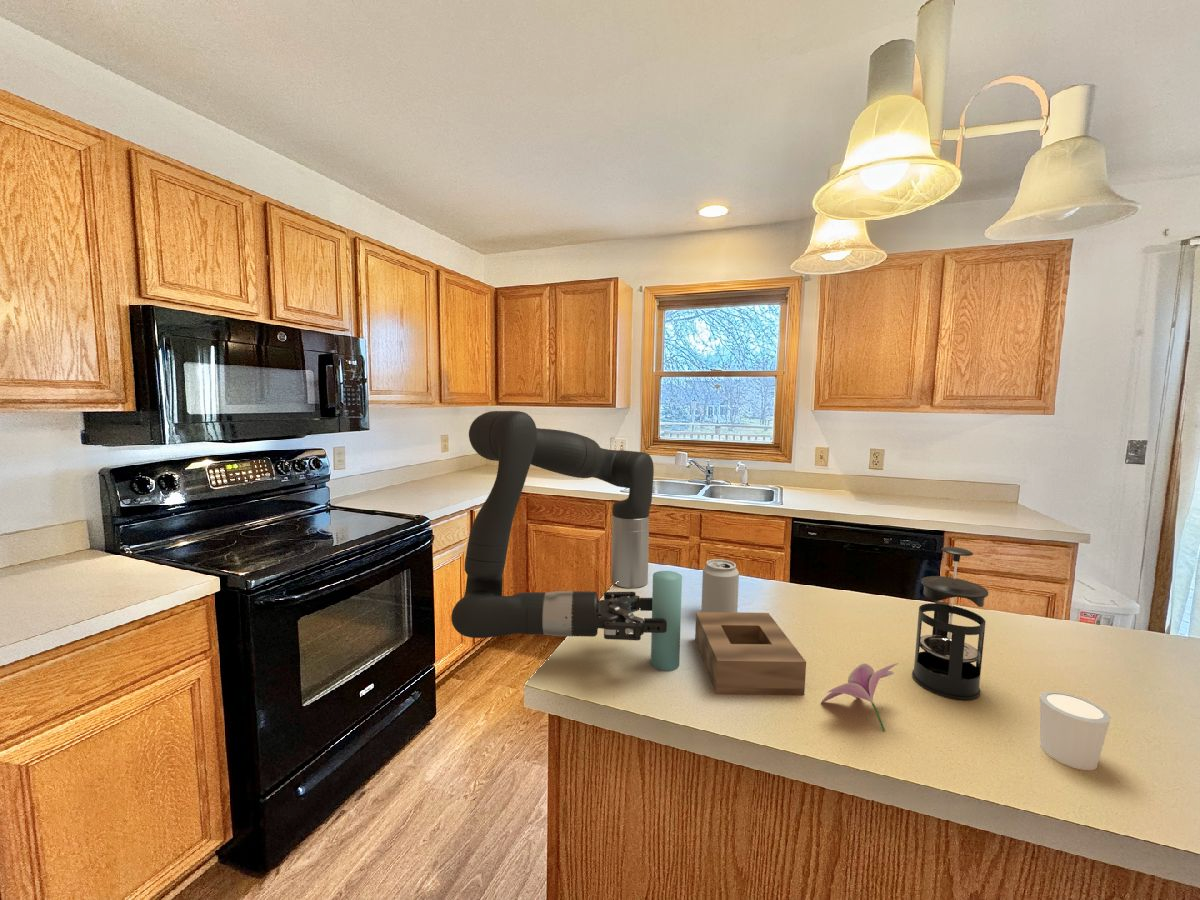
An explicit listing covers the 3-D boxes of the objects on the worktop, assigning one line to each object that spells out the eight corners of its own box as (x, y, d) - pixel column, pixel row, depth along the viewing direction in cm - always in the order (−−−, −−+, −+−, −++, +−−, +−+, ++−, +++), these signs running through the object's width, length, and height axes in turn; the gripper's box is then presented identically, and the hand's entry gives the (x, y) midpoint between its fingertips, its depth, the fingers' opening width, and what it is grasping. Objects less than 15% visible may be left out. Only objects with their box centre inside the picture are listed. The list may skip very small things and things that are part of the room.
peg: (649, 655, 91) (651, 570, 90) (677, 656, 91) (679, 570, 90) (652, 670, 87) (654, 580, 85) (681, 671, 87) (684, 581, 85)
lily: (906, 712, 78) (879, 647, 81) (938, 729, 67) (906, 653, 70) (827, 729, 79) (805, 665, 82) (847, 749, 68) (819, 673, 71)
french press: (990, 708, 77) (1005, 562, 74) (919, 695, 80) (931, 555, 78) (967, 670, 88) (979, 541, 85) (905, 659, 91) (915, 535, 89)
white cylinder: (1024, 733, 71) (1029, 686, 71) (1083, 743, 70) (1089, 695, 69) (1051, 767, 65) (1057, 716, 64) (1118, 779, 63) (1125, 727, 62)
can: (741, 625, 104) (743, 569, 103) (704, 624, 104) (706, 568, 103) (732, 610, 112) (734, 557, 110) (698, 609, 112) (700, 556, 110)
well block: (695, 639, 98) (695, 611, 97) (767, 639, 98) (768, 612, 97) (716, 693, 80) (717, 660, 79) (804, 694, 80) (806, 661, 79)
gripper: (568, 610, 81) (669, 611, 81) (573, 577, 95) (659, 578, 95) (568, 654, 81) (668, 655, 81) (573, 616, 96) (658, 617, 96)
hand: (663, 614), depth 88 cm, fingers open, 8 cm apart
